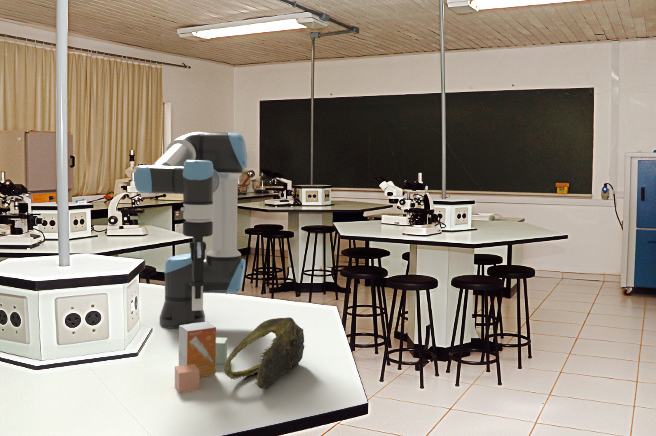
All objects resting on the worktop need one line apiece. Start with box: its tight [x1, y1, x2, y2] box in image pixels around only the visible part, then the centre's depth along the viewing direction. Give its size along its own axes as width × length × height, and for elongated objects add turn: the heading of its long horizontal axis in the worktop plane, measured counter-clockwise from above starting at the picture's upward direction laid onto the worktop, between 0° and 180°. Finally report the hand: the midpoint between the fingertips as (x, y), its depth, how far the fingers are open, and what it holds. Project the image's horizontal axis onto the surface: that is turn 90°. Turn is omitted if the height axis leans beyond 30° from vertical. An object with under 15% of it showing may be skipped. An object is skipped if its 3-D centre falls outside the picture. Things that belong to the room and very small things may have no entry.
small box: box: [178, 321, 217, 378], centre depth 160 cm, size 8×6×13 cm
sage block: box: [215, 336, 228, 365], centre depth 170 cm, size 5×5×6 cm
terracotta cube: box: [174, 364, 200, 393], centre depth 151 cm, size 5×5×5 cm
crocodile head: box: [223, 317, 305, 390], centre depth 160 cm, size 27×17×15 cm
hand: (197, 309), depth 159 cm, fingers closed
